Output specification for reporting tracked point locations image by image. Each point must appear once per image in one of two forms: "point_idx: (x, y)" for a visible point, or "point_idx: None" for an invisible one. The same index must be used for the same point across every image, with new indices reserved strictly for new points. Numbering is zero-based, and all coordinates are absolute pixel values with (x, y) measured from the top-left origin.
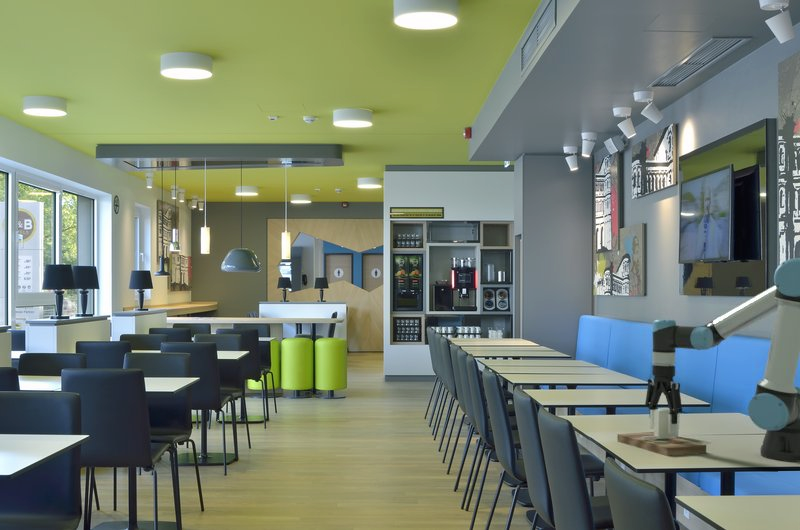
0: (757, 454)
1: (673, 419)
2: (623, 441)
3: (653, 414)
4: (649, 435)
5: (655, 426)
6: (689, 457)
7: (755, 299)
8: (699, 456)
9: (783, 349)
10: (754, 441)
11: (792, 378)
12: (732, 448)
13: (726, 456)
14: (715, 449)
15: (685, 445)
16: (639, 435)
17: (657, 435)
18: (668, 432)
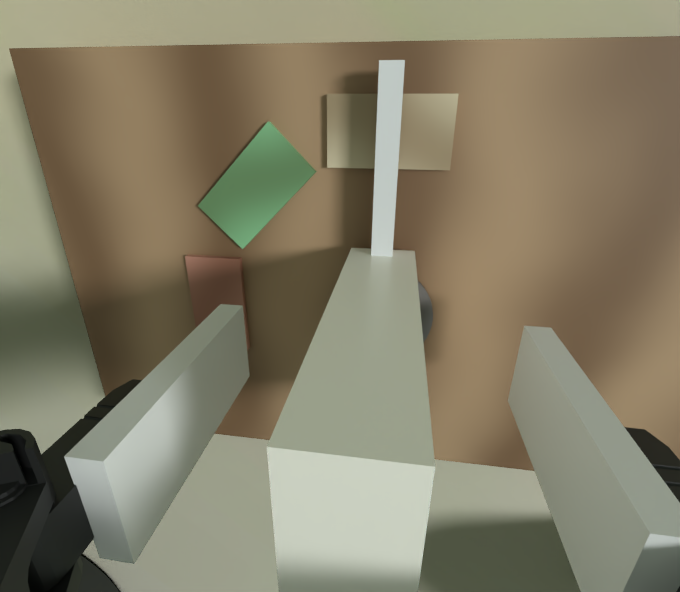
0: (94, 551)
1: (97, 420)
2: None
3: (590, 485)
4: (584, 338)
5: (397, 294)
6: (20, 196)
7: None
8: (52, 283)
9: None
10: None
11: None
12: (231, 569)
13: (52, 414)
14: (224, 497)
15: (116, 295)
16: (643, 247)
17: (364, 257)
18: (236, 308)
